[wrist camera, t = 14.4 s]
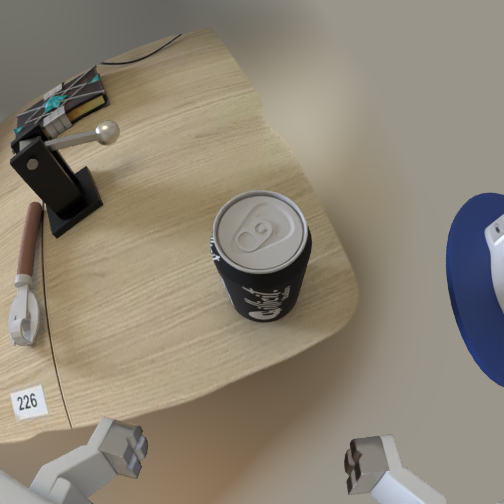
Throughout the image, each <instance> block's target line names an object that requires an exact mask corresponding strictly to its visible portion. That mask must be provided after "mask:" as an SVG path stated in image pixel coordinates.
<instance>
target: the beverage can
mask: <svg viewBox="0 0 504 504" xmlns="http://www.w3.org/2000/svg"><path fill="white" fill-rule="evenodd" d="M311 248H312V238H311V233H310V230H309V227H308V225H307V222H306V218H305V216H304V214H303V212H302V210H301V209H300V208H299V206H298V205H297V204H296V203H295V202H294V201H292V200H291V199H290V198H288V197H286V196H285V195H282V194H280V193H277V192H273V191H268V190H254V191H249V192H245V193H242V194H240V195H237V196H236V197H234V198H232V199H231V200H229V201H228V202H227V203H226V204H225V205H224V206H223V207H222V208H221V210H220V211H219V213H218V214H217V216H216V219H215V221H214V225H213V231H212V234H211V240H210V249H211V254H212V258H213V260H214V263H215V265H216V267H217V270H218V272H219V274H220V277H221V279H222V282H223V284H224V286H225V289H226V291H227V293H228V295H229V298H230V300H231V302H232V304H233V306H234V308H235V309H236V310H237V311H238V312H239V313H240V314H241V315H242V316H244V317H245V318H247V319H249V320H252V321H256V322H271V321H275V320H278V319H280V318H282V317H283V316H285V315H286V314H287V313H288V312H289V311H290V310H291V309H292V308H293V306H294V305H295V303H296V301H297V298H298V295H299V291H300V288H301V285H302V281H303V278H304V274H305V271H306V267H307V264H308V261H309V257H310V253H311Z"/></svg>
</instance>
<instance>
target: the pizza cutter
mask: <svg viewBox="0 0 504 504" xmlns="http://www.w3.org/2000/svg"><path fill="white" fill-rule="evenodd" d="M41 212H42V206H41V204H40V203H38V202H32V203H31V204H30V205H29V207H28V212H27V216H26V221H25V226H24V231H23V236H22V242H21V248H20V255H19V262H18V269H17V276H16V280H15V286H16V287H17V288H18V294H17V296H16V298H15V299H14V301H13V303H12V305H11V308H10V312H9V317H8V330H9V335H10V339H11V341H12V343H13V345H14V346H16V344H18V345H20V346H25V345H31V344H33V343H35V338H36V335H37V332H38V328H39V319H40V309H39V302H38V300H37V298H36V296H35V295H34V294H33V293H31V292H30V291H28V290H31V289H32V286H33V278H32V275H33V265H34V256H35V249H36V241H37V235H38V229H39V223H40V217H41ZM27 309H28V311H29V312H30V314H31V320H30V319H28V318H27ZM22 327H23V329H24V333H25V338H24V336H23V335H22Z"/></svg>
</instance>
